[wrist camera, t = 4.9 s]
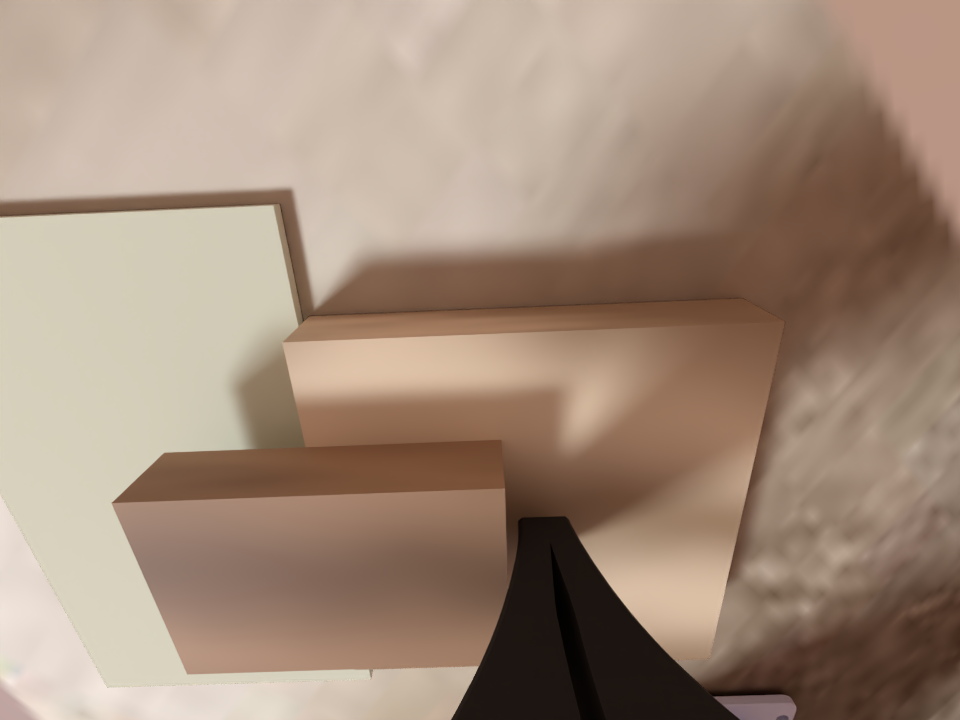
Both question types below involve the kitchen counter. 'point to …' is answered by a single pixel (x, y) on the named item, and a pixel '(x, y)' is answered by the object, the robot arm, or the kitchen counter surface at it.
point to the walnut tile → (324, 554)
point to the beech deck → (573, 426)
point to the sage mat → (136, 395)
